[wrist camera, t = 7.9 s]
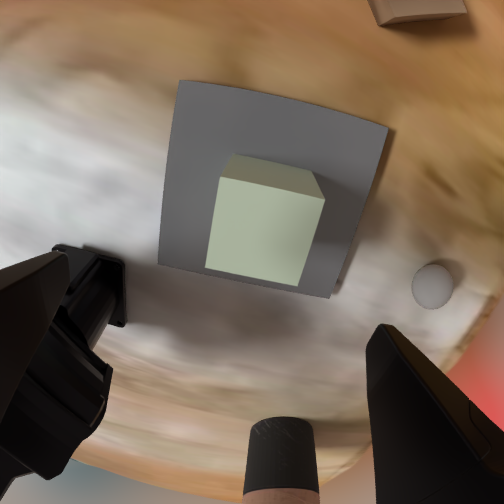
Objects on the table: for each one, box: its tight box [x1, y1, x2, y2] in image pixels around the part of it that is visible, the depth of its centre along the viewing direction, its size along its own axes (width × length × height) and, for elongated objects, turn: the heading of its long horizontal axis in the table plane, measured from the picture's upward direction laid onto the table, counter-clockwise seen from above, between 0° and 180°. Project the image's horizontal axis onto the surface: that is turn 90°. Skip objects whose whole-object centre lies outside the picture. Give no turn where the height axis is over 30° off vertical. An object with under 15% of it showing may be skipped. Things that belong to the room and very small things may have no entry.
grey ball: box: [412, 264, 453, 309], centre depth 20 cm, size 3×3×3 cm
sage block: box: [205, 154, 325, 286], centre depth 16 cm, size 4×4×5 cm
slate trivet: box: [158, 80, 389, 299], centre depth 19 cm, size 12×12×1 cm
